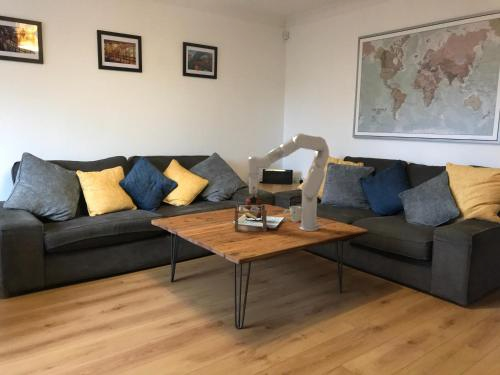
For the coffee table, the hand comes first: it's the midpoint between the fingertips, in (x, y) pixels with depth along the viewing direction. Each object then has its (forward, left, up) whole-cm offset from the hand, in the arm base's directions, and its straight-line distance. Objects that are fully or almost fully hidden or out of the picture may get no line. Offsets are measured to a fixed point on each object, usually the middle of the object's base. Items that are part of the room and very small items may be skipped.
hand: (253, 202), depth 272 cm
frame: (+2, 0, -17) cm, 17 cm away
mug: (-28, -18, -17) cm, 38 cm away
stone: (0, 0, -8) cm, 8 cm away
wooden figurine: (-1, -21, -17) cm, 27 cm away
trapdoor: (+4, 0, -8) cm, 9 cm away
